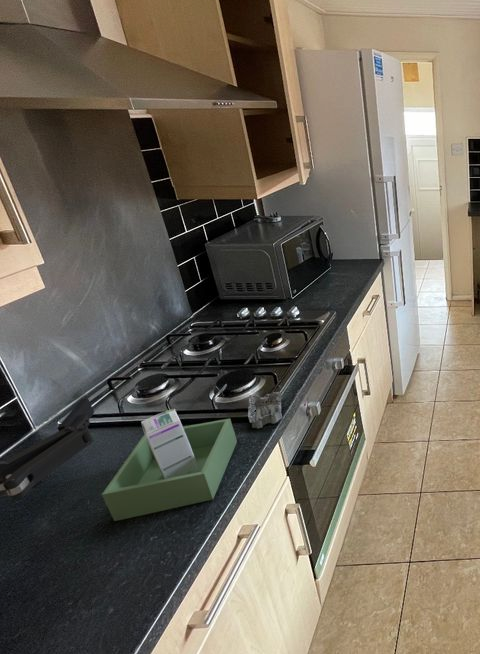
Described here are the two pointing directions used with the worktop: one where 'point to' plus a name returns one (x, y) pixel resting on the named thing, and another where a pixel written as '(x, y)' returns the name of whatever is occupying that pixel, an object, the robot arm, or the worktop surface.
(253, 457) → the worktop surface
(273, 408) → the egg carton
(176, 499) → the storage tray
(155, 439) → the syrup box
